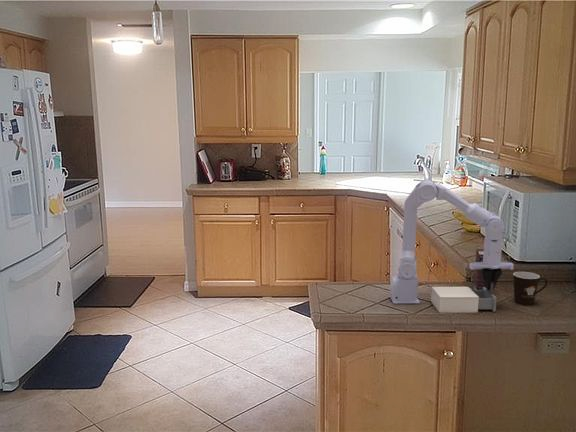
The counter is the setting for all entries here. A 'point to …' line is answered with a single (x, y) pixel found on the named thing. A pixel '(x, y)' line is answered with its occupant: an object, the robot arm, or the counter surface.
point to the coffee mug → (526, 287)
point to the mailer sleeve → (454, 299)
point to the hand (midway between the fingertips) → (489, 289)
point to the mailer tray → (486, 298)
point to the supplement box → (479, 272)
